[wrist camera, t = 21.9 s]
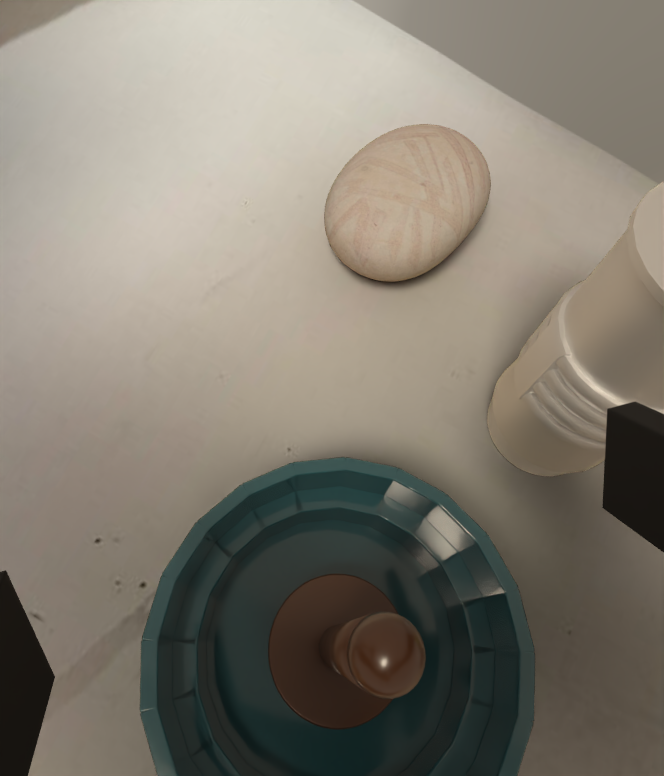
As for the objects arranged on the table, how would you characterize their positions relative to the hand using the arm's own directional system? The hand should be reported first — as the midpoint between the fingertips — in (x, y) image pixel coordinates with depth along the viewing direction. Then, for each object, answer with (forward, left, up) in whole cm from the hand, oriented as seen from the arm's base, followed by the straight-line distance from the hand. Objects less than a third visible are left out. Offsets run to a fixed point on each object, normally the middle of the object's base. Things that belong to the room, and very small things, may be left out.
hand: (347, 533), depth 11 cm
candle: (+7, +14, -16) cm, 22 cm away
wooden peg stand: (+2, -2, -15) cm, 15 cm away
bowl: (+2, -2, -16) cm, 16 cm away
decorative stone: (-6, +23, -16) cm, 28 cm away
